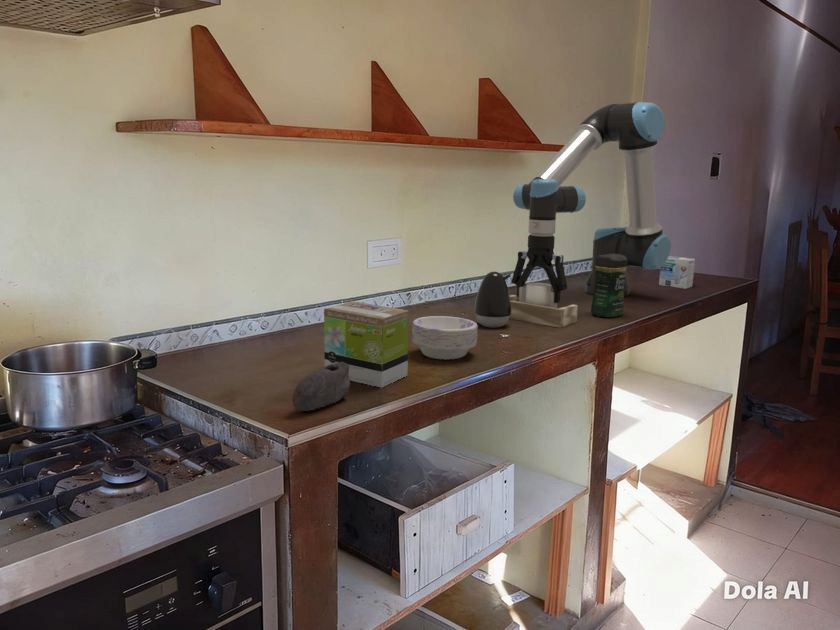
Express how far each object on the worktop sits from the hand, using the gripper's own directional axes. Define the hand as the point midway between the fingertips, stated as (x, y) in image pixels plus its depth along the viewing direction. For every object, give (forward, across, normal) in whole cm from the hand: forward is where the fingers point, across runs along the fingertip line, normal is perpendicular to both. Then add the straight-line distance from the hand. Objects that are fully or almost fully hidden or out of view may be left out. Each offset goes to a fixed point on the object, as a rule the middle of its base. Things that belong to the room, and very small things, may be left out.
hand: (537, 310), depth 205 cm
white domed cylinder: (+2, 0, 0) cm, 2 cm away
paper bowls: (+2, +5, -50) cm, 50 cm away
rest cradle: (+2, 0, -1) cm, 3 cm away
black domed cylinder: (+2, -4, -17) cm, 18 cm away
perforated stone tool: (+2, +10, -93) cm, 94 cm away
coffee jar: (+2, +13, +19) cm, 23 cm away
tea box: (+2, +4, -75) cm, 75 cm away
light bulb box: (+2, +8, +87) cm, 87 cm away
